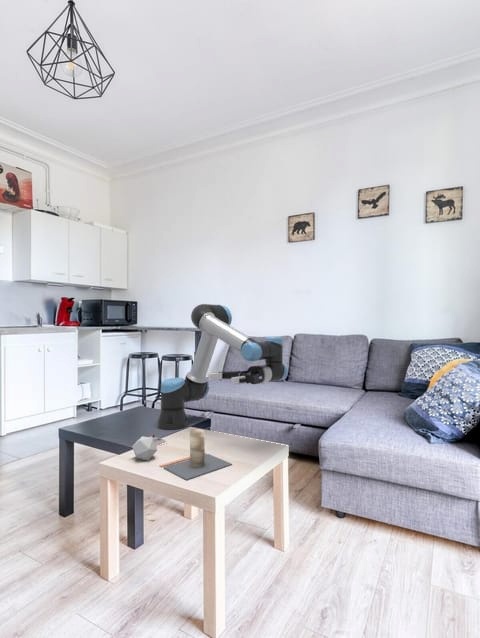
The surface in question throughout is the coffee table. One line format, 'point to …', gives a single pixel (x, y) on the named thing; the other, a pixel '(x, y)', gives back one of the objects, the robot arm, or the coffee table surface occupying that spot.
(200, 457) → the beige banded cylinder
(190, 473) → the mat
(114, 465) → the coffee table surface
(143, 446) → the die
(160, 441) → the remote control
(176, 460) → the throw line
